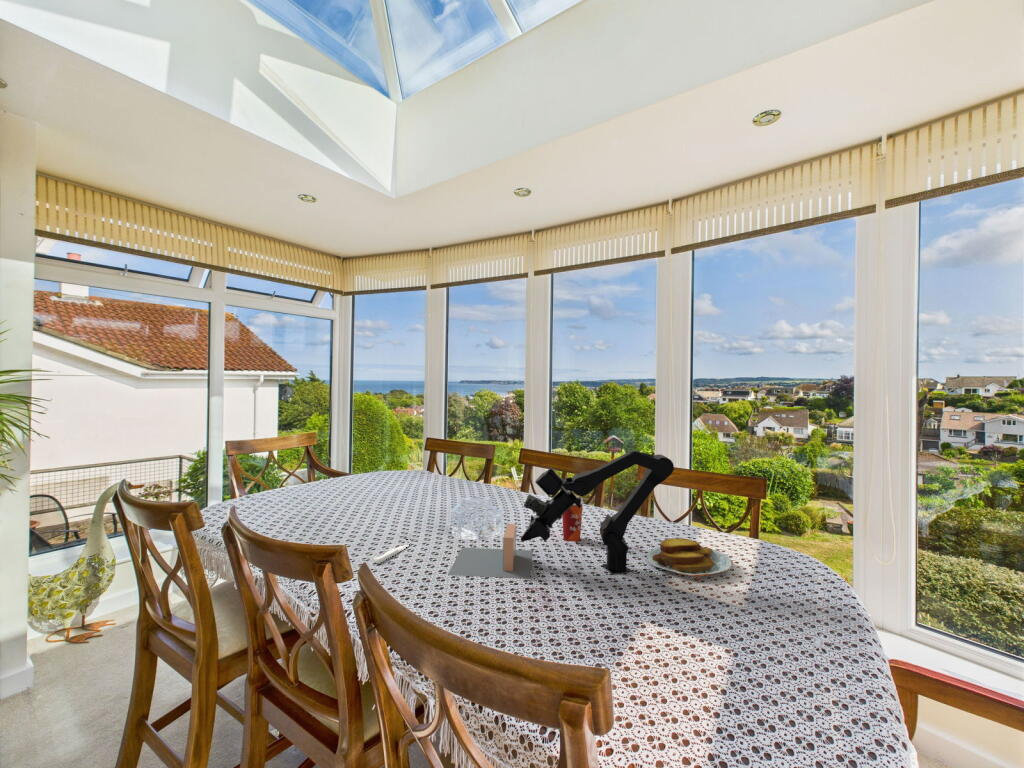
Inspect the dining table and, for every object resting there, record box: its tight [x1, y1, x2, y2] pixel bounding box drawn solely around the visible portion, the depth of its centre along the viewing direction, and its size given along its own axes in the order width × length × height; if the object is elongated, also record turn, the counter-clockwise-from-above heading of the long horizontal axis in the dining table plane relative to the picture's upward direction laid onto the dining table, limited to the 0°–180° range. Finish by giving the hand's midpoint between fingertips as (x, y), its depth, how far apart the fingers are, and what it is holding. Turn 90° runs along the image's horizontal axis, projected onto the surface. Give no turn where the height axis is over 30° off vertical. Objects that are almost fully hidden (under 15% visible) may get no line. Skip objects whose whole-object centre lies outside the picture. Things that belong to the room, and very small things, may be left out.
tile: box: [502, 523, 517, 571], centre depth 141 cm, size 3×13×10 cm, turn 175°
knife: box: [373, 545, 410, 565], centre depth 155 cm, size 31×6×2 cm, turn 170°
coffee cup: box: [561, 495, 585, 543], centre depth 165 cm, size 8×8×15 cm
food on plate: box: [645, 537, 734, 582], centre depth 143 cm, size 25×25×7 cm
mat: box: [447, 547, 534, 580], centre depth 141 cm, size 24×22×1 cm
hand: (521, 540), depth 141 cm, fingers closed
